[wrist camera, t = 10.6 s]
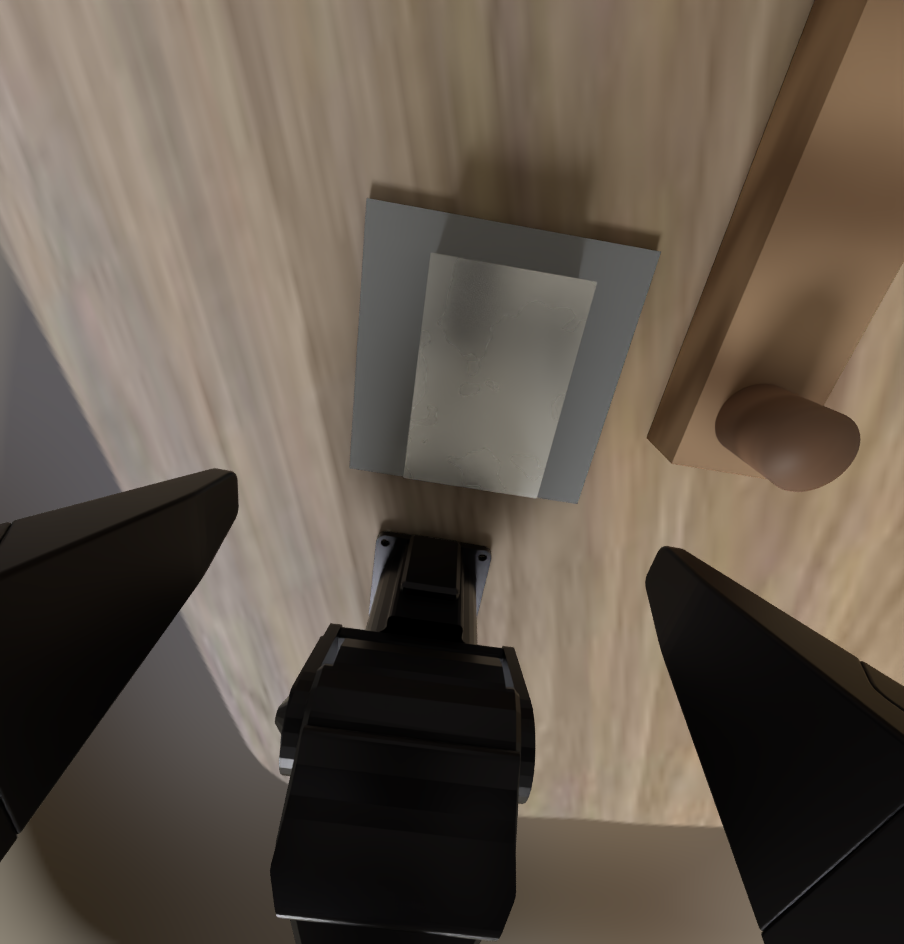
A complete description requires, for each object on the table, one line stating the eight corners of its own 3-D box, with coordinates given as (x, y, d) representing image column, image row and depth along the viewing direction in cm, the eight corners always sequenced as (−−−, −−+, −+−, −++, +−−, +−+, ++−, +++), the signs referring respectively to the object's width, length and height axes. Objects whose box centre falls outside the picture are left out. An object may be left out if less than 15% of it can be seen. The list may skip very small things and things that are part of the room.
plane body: (743, 454, 22) (874, 549, 15) (646, 438, 22) (733, 526, 15) (1039, -143, 13) (1704, -606, 6) (883, -178, 13) (1382, -699, 6)
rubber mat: (575, 499, 24) (577, 503, 23) (351, 463, 23) (349, 468, 23) (656, 251, 18) (660, 251, 18) (369, 199, 18) (366, 197, 17)
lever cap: (528, 469, 22) (536, 498, 20) (411, 450, 22) (403, 478, 19) (578, 278, 18) (597, 281, 16) (436, 253, 18) (430, 252, 15)
